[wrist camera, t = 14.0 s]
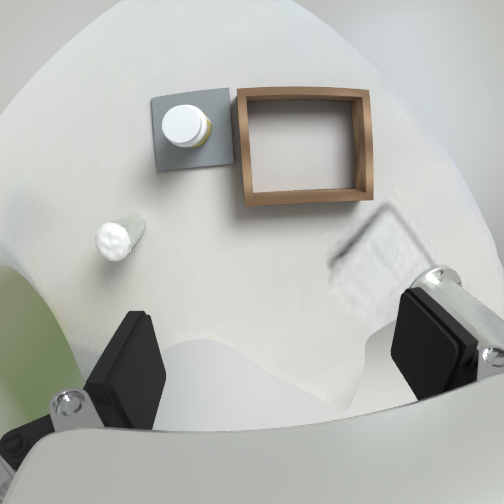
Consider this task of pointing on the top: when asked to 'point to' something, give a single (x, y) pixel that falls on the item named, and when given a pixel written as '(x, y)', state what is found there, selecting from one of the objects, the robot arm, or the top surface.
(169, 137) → the supplement bottle
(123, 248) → the milkshake
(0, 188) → the top surface
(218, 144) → the slate mat
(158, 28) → the top surface
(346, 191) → the walnut box
